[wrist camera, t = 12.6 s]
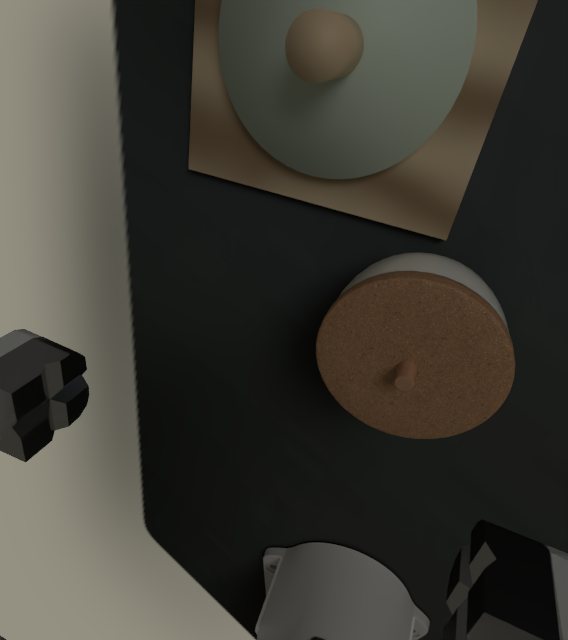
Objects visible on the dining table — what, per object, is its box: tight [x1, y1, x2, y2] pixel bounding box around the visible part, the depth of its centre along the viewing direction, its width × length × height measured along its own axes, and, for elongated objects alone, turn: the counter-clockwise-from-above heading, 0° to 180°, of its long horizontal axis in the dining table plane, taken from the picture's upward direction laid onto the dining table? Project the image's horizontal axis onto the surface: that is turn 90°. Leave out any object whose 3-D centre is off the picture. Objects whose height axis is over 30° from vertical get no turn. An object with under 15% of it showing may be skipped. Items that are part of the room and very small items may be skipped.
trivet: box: [189, 0, 538, 240], centre depth 26 cm, size 18×18×1 cm
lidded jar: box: [316, 253, 515, 439], centre depth 28 cm, size 11×11×9 cm
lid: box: [219, 0, 477, 179], centre depth 23 cm, size 14×14×5 cm
